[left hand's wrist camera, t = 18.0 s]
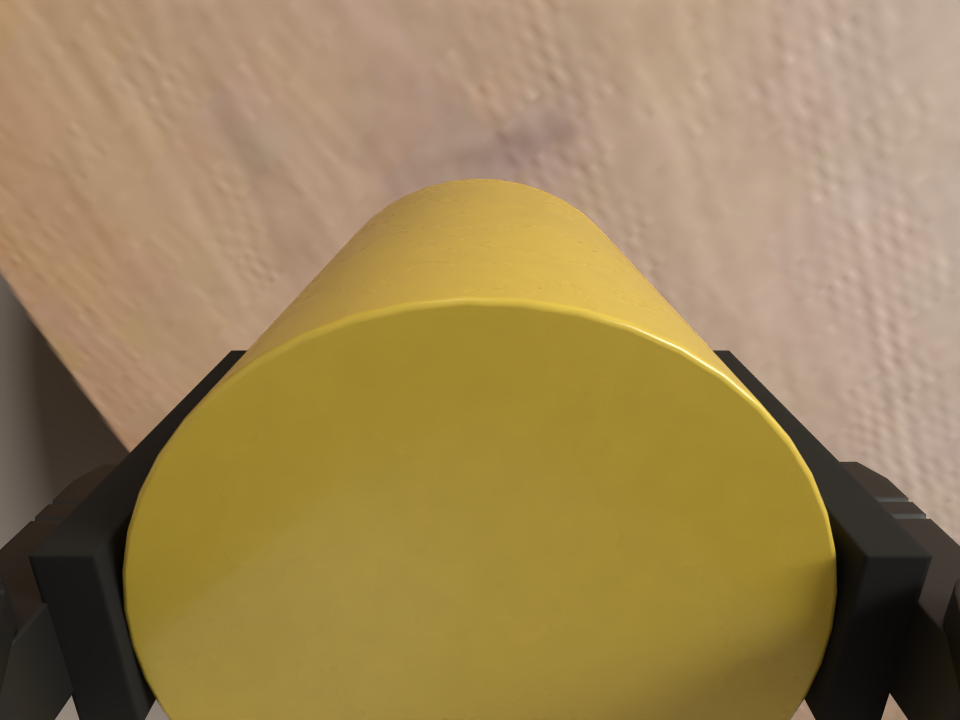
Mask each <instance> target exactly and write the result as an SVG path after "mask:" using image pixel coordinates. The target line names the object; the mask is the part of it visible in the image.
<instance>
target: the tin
mask: <svg viewBox="0 0 960 720" xmlns="http://www.w3.org/2000/svg"><path fill="white" fill-rule="evenodd" d="M122 575H123V596H124V611H125V616H126V620H127V625H128V630H129V634H130V639H131V644H132V647H133V649H134V652H135V655H136V657H137V660H138V662H139V665H140V668H141V670H142V673H143V675H144V678H145V680H146V682H147V684H148V685H149V687H150V689H151V691H152V692H153V694H154V696H155V698H156V699H157V701H158V703H159V705H160V706H161V708H162V710H163V711H164V713H165V714H166V715H167V717H168V718H169V719H170V720H790V719H791V718H792V716H793V715H794V713H795V712H796V710H797V709H798V707H799V706H800V704H801V703H802V701H803V700H804V698H805V697H806V695H807V693H808V691H809V689H810V687H811V685H812V683H813V680H814V678H815V676H816V674H817V672H818V670H819V668H820V666H821V664H822V661H823V657H824V654H825V651H826V648H827V644H828V641H829V638H830V634H831V631H832V627H833V619H834V612H835V605H836V597H837V572H836V551H835V546H834V541H833V536H832V532H831V527H830V522H829V517H828V513H827V510H826V507H825V505H824V502H823V500H822V497H821V495H820V492H819V490H818V487H817V485H816V482H815V480H814V477H813V475H812V473H811V471H810V469H809V468H808V466H807V464H806V463H805V461H804V460H803V458H802V456H801V455H800V453H799V451H798V450H797V448H796V446H795V445H794V443H793V441H792V440H791V438H790V437H789V436H788V434H787V433H786V432H785V431H784V430H783V429H782V427H781V426H780V425H779V424H778V423H777V422H776V420H775V419H774V418H773V417H772V416H771V415H770V413H769V412H768V411H767V410H766V409H765V408H764V406H763V405H762V404H761V403H760V402H759V401H758V400H757V398H756V397H755V396H754V395H753V394H752V393H751V392H750V391H749V390H748V389H747V388H746V387H745V385H744V384H743V383H742V382H741V381H740V380H739V379H738V378H737V377H736V376H735V375H734V374H733V373H732V371H731V370H730V369H729V368H728V367H727V366H726V365H725V364H724V363H723V362H722V361H721V360H720V358H719V357H718V356H717V355H716V354H715V353H714V352H713V351H712V350H711V349H710V348H709V347H708V345H707V344H706V343H705V342H704V341H703V340H702V339H701V338H700V337H699V336H698V335H697V334H696V332H695V331H694V330H693V329H692V328H691V327H690V326H689V325H688V324H687V323H686V322H685V321H684V319H683V318H682V317H681V316H680V315H679V314H678V313H677V312H676V311H675V310H674V309H673V308H672V306H671V305H670V304H669V303H668V302H667V301H666V300H665V299H664V298H663V297H662V296H661V295H660V294H659V292H658V291H657V290H656V289H655V288H654V287H653V286H652V285H651V284H650V283H649V282H648V281H647V279H646V278H645V277H644V276H643V275H642V274H641V273H640V272H639V271H638V270H637V269H636V268H635V266H634V265H633V264H632V263H631V262H630V261H629V260H628V259H627V258H626V257H625V256H624V255H623V253H622V252H621V251H620V250H619V249H618V248H617V247H616V246H615V245H614V244H613V243H612V242H611V240H610V239H609V238H608V237H607V236H606V235H605V234H604V233H603V232H602V231H601V230H600V229H599V228H598V227H597V226H596V225H595V224H594V223H593V222H592V221H591V220H589V219H588V218H587V217H586V216H585V215H584V214H583V213H582V212H580V211H578V210H577V209H575V208H574V207H572V206H571V205H569V204H568V203H566V202H565V201H563V200H561V199H559V198H557V197H555V196H553V195H551V194H549V193H547V192H544V191H542V190H539V189H536V188H533V187H530V186H527V185H523V184H520V183H514V182H509V181H503V180H494V179H468V180H458V181H450V182H446V183H442V184H437V185H433V186H429V187H427V188H424V189H421V190H419V191H416V192H414V193H411V194H409V195H407V196H405V197H403V198H401V199H399V200H398V201H396V202H394V203H392V204H390V205H389V206H387V207H386V208H385V209H383V210H382V211H381V212H379V213H378V214H377V215H375V216H374V217H373V218H371V219H370V220H369V221H368V222H367V223H366V224H365V225H364V226H363V227H362V228H361V229H360V230H359V231H358V232H357V233H356V234H355V235H354V236H353V237H352V239H351V240H350V241H349V242H348V243H347V244H346V245H345V246H344V247H343V248H342V249H341V250H340V251H339V253H338V254H337V255H336V256H335V257H334V258H333V259H332V260H331V261H330V262H329V263H328V264H327V265H326V267H325V268H324V269H323V270H322V271H321V272H320V273H319V274H318V275H317V276H316V277H315V278H314V279H313V281H312V282H311V283H310V284H309V285H308V286H307V287H306V288H305V289H304V290H303V291H302V292H301V293H300V295H299V296H298V297H297V298H296V299H295V300H294V301H293V302H292V303H291V304H290V305H289V306H288V307H287V309H286V310H285V311H284V312H283V313H282V314H281V315H280V316H279V317H278V318H277V319H276V320H275V321H274V323H273V324H272V325H271V326H270V327H269V328H268V329H267V330H266V331H265V332H264V333H263V334H262V335H261V337H260V338H259V339H258V340H257V341H256V342H255V343H254V344H253V345H252V346H251V347H250V348H249V349H248V351H247V352H246V353H245V354H244V355H243V356H242V357H241V358H240V359H239V360H238V361H237V362H236V363H235V365H234V366H233V367H232V368H231V369H230V370H229V371H228V372H227V373H226V374H225V375H224V376H223V377H222V379H221V380H220V381H219V382H218V383H217V384H216V385H215V386H214V387H213V388H212V389H211V390H210V391H209V393H208V394H207V395H206V396H205V397H204V398H203V399H202V400H201V401H200V402H199V403H198V404H197V405H196V407H195V408H194V409H193V410H192V411H191V412H190V413H189V414H188V415H187V416H186V417H185V418H184V420H183V421H182V422H181V424H180V425H179V426H178V428H177V429H176V431H175V432H174V433H173V435H172V436H171V437H170V439H169V440H168V442H167V443H166V444H165V446H164V447H163V448H162V450H161V451H160V452H159V454H158V456H157V458H156V460H155V462H154V464H153V466H152V468H151V470H150V471H149V473H148V475H147V477H146V479H145V481H144V483H143V485H142V487H141V489H140V491H139V494H138V498H137V501H136V504H135V507H134V511H133V514H132V517H131V521H130V524H129V527H128V531H127V539H126V547H125V555H124V563H123V571H122Z"/></svg>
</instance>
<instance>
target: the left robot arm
mask: <svg viewBox="0 0 960 720" xmlns="http://www.w3.org/2000/svg"><path fill="white" fill-rule="evenodd" d="M246 352H247V351H231V352H230V353H229V354H228V355H227V356H226V357H225V358H224V359H223V360H222V361H221V362H220V363H219V364H218V365H217V366H216V367H215V368H214V369H213V370H212V371H211V372H210V373H209V374H208V375H207V376H206V377H205V378H204V379H203V380H202V381H201V382H200V383H199V384H198V385H197V386H196V387H195V388H194V389H193V390H192V391H191V392H190V393H189V394H188V395H187V396H186V397H185V398H184V399H183V400H182V401H181V402H180V403H179V404H178V405H177V406H176V407H175V408H174V409H173V410H172V411H171V412H170V413H169V414H168V415H167V416H166V417H165V418H164V419H163V420H162V421H161V422H160V423H159V424H158V425H157V426H156V427H155V428H154V429H153V430H152V431H151V432H150V433H149V434H148V435H147V436H146V437H145V438H144V439H143V440H142V441H141V442H140V443H139V444H138V445H137V446H136V447H135V449H134V450H133V451H132V452H131V453H130V454H129V455H128V456H127V457H126V458H125V459H124V460H123V461H122V462H121V463H120V464H103V465H102V466H100V467H98V468H96V469H94V470H92V471H91V472H89V473H87V474H85V475H83V476H82V477H80V478H78V479H76V480H74V481H73V482H72V483H71V484H70V485H69V486H68V487H67V488H66V489H65V490H64V491H62V492H61V493H60V494H59V495H58V496H57V497H56V498H55V499H54V500H53V504H49V505H48V506H46V507H45V508H44V509H43V510H42V511H41V512H40V513H39V514H38V515H37V516H36V517H35V521H31V522H29V523H28V524H27V525H26V526H25V527H24V528H23V529H22V530H21V531H20V532H19V533H18V534H17V535H16V536H15V537H13V538H12V539H11V540H10V541H9V542H8V543H7V544H6V545H5V546H4V547H3V548H2V549H1V550H0V720H55V718H56V717H57V716H58V714H59V713H60V711H61V710H62V708H63V707H64V705H65V704H66V702H67V701H68V700H69V698H70V697H71V695H72V697H73V701H74V704H75V707H76V710H77V713H78V716H79V720H145V718H146V716H147V715H148V713H149V711H150V709H151V707H152V705H153V703H154V702H155V700H156V698H155V696H154V694H153V692H152V691H151V689H150V687H149V685H148V684H147V682H146V680H145V678H144V675H143V673H142V670H141V668H140V665H139V662H138V660H137V657H136V655H135V652H134V649H133V647H132V644H131V639H130V634H129V630H128V625H127V620H126V616H125V611H124V596H123V575H122V571H123V563H124V555H125V547H126V539H127V531H128V527H129V524H130V521H131V517H132V514H133V511H134V507H135V504H136V501H137V498H138V494H139V491H140V489H141V487H142V485H143V483H144V481H145V479H146V477H147V475H148V473H149V471H150V470H151V468H152V466H153V464H154V462H155V460H156V458H157V456H158V454H159V452H160V451H161V450H162V448H163V447H164V446H165V444H166V443H167V442H168V440H169V439H170V437H171V436H172V435H173V433H174V432H175V431H176V429H177V428H178V426H179V425H180V424H181V422H182V421H183V420H184V418H185V417H186V416H187V415H188V414H189V413H190V412H191V411H192V410H193V409H194V408H195V407H196V405H197V404H198V403H199V402H200V401H201V400H202V399H203V398H204V397H205V396H206V395H207V394H208V393H209V391H210V390H211V389H212V388H213V387H214V386H215V385H216V384H217V383H218V382H219V381H220V380H221V379H222V377H223V376H224V375H225V374H226V373H227V372H228V371H229V370H230V369H231V368H232V367H233V366H234V365H235V363H236V362H237V361H238V360H239V359H240V358H241V357H242V356H243V355H244V354H245V353H246ZM713 352H714V353H715V354H716V355H717V356H718V357H719V358H720V360H721V361H722V362H723V363H724V364H725V365H726V366H727V367H728V368H729V369H730V370H731V371H732V373H733V374H734V375H735V376H736V377H737V378H738V379H739V380H740V381H741V382H742V383H743V384H744V385H745V387H746V388H747V389H748V390H749V391H750V392H751V393H752V394H753V395H754V396H755V397H756V398H757V400H758V401H759V402H760V403H761V404H762V405H763V406H764V408H765V409H766V410H767V411H768V412H769V413H770V415H771V416H772V417H773V418H774V419H775V420H776V422H777V423H778V424H779V425H780V426H781V427H782V429H783V430H784V431H785V432H786V433H787V434H788V436H789V437H790V438H791V440H792V441H793V443H794V445H795V446H796V448H797V450H798V451H799V453H800V455H801V456H802V458H803V460H804V461H805V463H806V464H807V466H808V468H809V469H810V471H811V473H812V475H813V477H814V480H815V482H816V485H817V487H818V490H819V492H820V495H821V497H822V500H823V502H824V505H825V507H826V510H827V513H828V517H829V522H830V527H831V532H832V536H833V541H834V546H835V551H836V572H837V597H836V605H835V612H834V619H833V627H832V631H831V634H830V638H829V641H828V644H827V648H826V651H825V654H824V657H823V661H822V664H821V666H820V668H819V670H818V672H817V674H816V676H815V678H814V680H813V683H812V685H811V687H810V689H809V691H808V693H807V695H806V697H805V698H804V699H805V701H806V703H807V705H808V706H809V708H810V710H811V712H812V714H813V716H814V717H815V719H816V720H881V718H882V715H883V712H884V709H885V705H886V702H887V699H888V696H889V693H890V694H891V695H892V697H893V698H894V700H895V701H896V703H897V704H898V706H899V707H900V708H901V710H902V711H903V713H904V714H905V716H906V717H907V719H908V720H960V546H959V545H958V544H957V543H956V542H955V541H954V540H953V539H952V538H950V537H949V536H948V535H947V534H946V533H945V532H944V531H943V530H942V529H941V528H940V527H939V526H938V525H937V524H935V523H934V522H933V521H932V520H931V519H926V514H925V513H924V512H923V511H921V510H920V509H919V508H918V507H917V506H916V505H915V504H914V503H913V502H909V501H908V498H907V497H906V496H905V495H904V494H903V493H902V492H901V491H900V490H899V489H898V488H897V487H896V486H895V485H894V484H892V483H891V482H890V481H889V480H888V479H887V478H885V477H883V476H882V475H880V474H878V473H876V472H874V471H872V470H871V469H869V468H867V467H865V466H863V465H862V464H860V463H858V462H839V461H838V460H837V459H836V458H835V457H834V456H833V455H832V454H831V453H830V452H829V451H828V450H827V449H826V448H825V447H824V446H823V445H822V444H821V443H820V442H819V441H818V440H817V439H816V438H815V437H814V436H813V435H812V434H811V433H810V432H809V431H808V430H807V429H806V428H805V427H804V426H803V425H802V424H801V423H800V422H799V421H798V420H797V419H796V418H795V417H794V416H793V415H792V414H791V413H790V412H789V411H788V410H787V409H786V408H785V407H784V406H783V405H782V404H781V403H780V402H779V401H778V400H777V399H776V398H775V397H774V396H773V395H772V394H771V393H770V392H769V391H768V390H767V389H766V388H765V387H764V386H763V384H762V383H761V382H760V381H759V380H758V379H757V378H756V377H755V376H754V375H753V374H752V373H751V372H750V371H749V370H748V369H747V368H746V367H745V366H744V365H743V364H742V363H741V362H740V361H739V360H738V359H737V358H736V357H735V356H734V355H733V354H732V353H731V352H730V351H713Z"/></svg>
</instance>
